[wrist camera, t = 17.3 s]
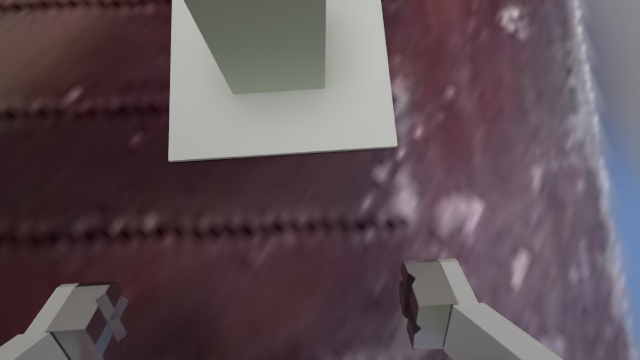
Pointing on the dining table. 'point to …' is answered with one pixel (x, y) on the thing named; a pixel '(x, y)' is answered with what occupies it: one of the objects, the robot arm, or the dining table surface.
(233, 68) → the block
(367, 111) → the mat
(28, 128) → the dining table surface
